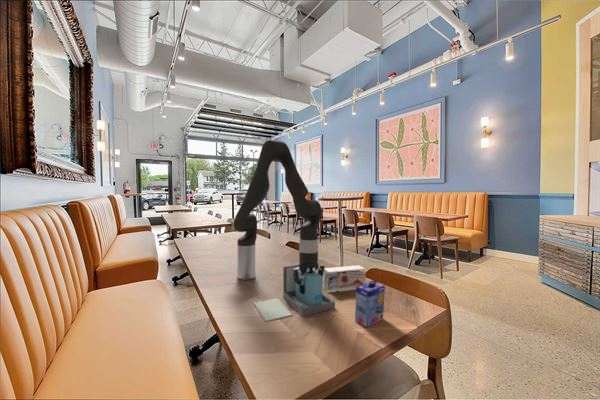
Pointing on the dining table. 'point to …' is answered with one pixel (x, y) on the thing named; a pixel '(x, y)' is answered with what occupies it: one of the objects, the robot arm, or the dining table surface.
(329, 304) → the case
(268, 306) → the mat
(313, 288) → the blue rubber eraser
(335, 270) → the white printed box
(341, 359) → the dining table surface
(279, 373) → the dining table surface
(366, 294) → the ink cartridge box
